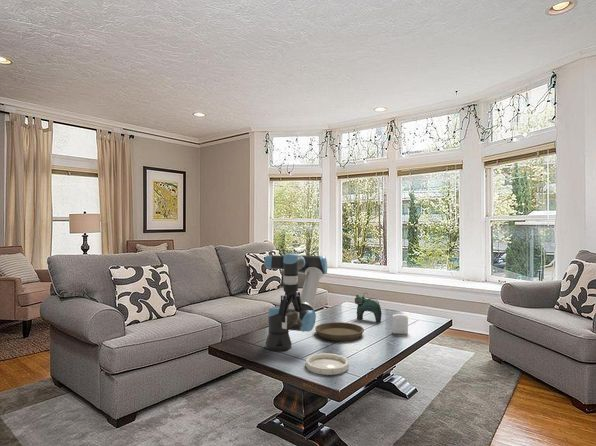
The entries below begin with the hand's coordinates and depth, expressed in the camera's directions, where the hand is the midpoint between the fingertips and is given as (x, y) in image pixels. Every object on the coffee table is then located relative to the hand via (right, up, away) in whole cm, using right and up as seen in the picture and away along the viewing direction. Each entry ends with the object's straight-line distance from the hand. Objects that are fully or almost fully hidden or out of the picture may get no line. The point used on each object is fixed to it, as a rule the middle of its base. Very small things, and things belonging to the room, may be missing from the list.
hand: (290, 326), depth 195 cm
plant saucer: (+30, -18, +45) cm, 57 cm away
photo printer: (+70, -18, +48) cm, 87 cm away
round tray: (+18, -18, -9) cm, 27 cm away
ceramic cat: (+56, -18, +81) cm, 100 cm away
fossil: (0, -1, 0) cm, 1 cm away
